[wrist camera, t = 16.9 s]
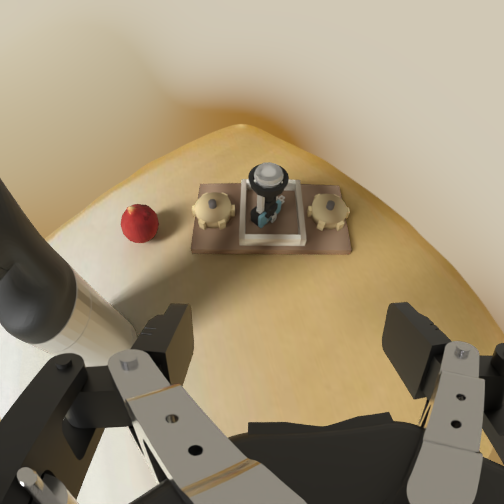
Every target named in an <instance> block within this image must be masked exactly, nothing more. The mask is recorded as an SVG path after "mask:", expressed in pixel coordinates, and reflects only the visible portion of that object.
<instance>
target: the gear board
mask: <svg viewBox="0 0 504 504" xmlns="http://www.w3.org/2000/svg"><path fill="white" fill-rule="evenodd" d="M254 182H255V180H254ZM282 183H283V181H282ZM282 183H281V184H282ZM281 195H282V196H284V197H285V199H283V198H282V197H281V198H280V199H283V200H284V201H285V202H284V203H283V204H281V210H280V212H279V213H278V214H277V218H276V220H275V221H274V222H273V223H271V221H272V219H271V220H270V221H269V222H268V223H266V224H265V225H264V226H263V227H262V228H260V227H258V226H257V225H256V224H255V223H253V222H252V221H251V210H252V209H253V208H254V207H256V206H257V194H256V193H255V192H254V190H253V189H252V188H251V185H250V183H249V179H242V181H241V183H231V184H200V188H199V194H198V200H197V202H196V204H195V205H193V206H192V213H193V217H195V222H194V229H193V237H192V244H191V251H192V253H208V254H350V252H351V251H352V250H351V244H350V238H349V233H348V227H347V222H346V218H348V216H349V213H350V210H349V207H347V206H346V204H345V202H344V201H343V200H342V197H341V192H340V187H339V186H334V185H309V184H300V180H288V184H287V186H286V187H285V189H284V191H283V192H282V194H280V195H278V198H279V197H280V196H281ZM281 202H282V201H281ZM274 219H275V218H274ZM274 219H273V220H274Z"/></svg>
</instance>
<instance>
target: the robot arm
mask: <svg viewBox="0 0 504 504" xmlns="http://www.w3.org/2000/svg"><path fill="white" fill-rule="evenodd" d="M0 323H1V325H2V326H3V327H4V328H5V330H6V331H7V332H8V333H10V334H11V335H13V336H14V337H16V338H18V339H20V340H22V341H24V342H26V343H28V344H30V345H32V346H34V347H36V348H38V349H41V350H43V351H45V352H47V353H50V354H52V355H54V357H53V358H51V359H50V360H49V361H48V362H47V363H46V364H45V365H44V366H43V368H42V369H41V370H40V371H39V373H38V374H37V375H36V376H35V377H34V379H33V380H32V381H31V382H30V384H29V385H28V386H27V387H26V389H25V390H24V391H23V392H22V394H21V395H20V396H19V398H18V399H17V400H16V401H15V403H14V404H13V405H12V407H11V408H10V409H9V411H8V412H7V413H6V415H5V416H4V417H3V419H2V420H1V422H0V504H79V503H78V502H77V501H76V499H77V497H78V494H79V491H80V489H81V486H82V483H83V481H84V478H85V476H86V473H87V471H88V468H89V466H90V463H91V461H92V458H93V456H94V453H95V451H96V448H97V446H98V443H99V441H100V439H101V436H102V434H103V432H104V429H105V428H109V427H126V426H127V428H128V430H129V432H130V434H131V436H132V438H133V440H134V442H135V444H136V445H137V447H138V449H139V451H140V453H141V455H142V456H143V458H144V460H145V462H146V464H147V465H148V467H149V469H150V471H151V473H152V475H153V477H154V479H155V481H156V483H157V486H155V487H154V488H152V489H151V490H149V491H148V492H146V493H145V494H143V495H142V496H140V497H138V498H137V499H135V500H134V501H132V502H131V503H129V504H504V466H502V465H500V464H498V463H495V462H493V461H491V460H489V459H487V458H484V457H483V455H482V453H481V452H480V451H479V448H480V440H481V432H482V429H483V430H484V432H485V434H486V435H487V437H488V438H489V440H490V442H491V443H492V445H493V447H494V448H495V450H496V452H497V453H498V455H499V457H500V458H501V460H502V462H503V464H504V343H501V344H498V345H497V346H496V348H495V351H494V353H493V356H479V351H478V350H477V349H476V348H475V347H474V346H473V345H471V344H469V343H466V342H461V341H453V342H452V341H451V340H450V339H449V338H448V337H447V336H446V335H445V334H444V333H443V332H442V331H441V330H439V328H438V327H437V326H436V325H434V323H433V322H432V321H431V320H430V319H429V318H428V317H426V316H424V315H422V314H420V313H418V312H417V311H416V310H415V309H414V308H413V307H412V306H411V305H410V304H409V303H408V302H402V303H391V304H390V305H389V307H388V310H387V315H386V321H385V326H384V331H383V336H382V347H383V350H384V352H385V354H386V355H387V357H388V358H389V360H390V362H391V363H392V365H393V366H394V368H395V369H396V371H397V373H398V374H399V376H400V378H401V379H402V381H403V382H404V384H405V386H406V387H407V389H408V391H409V392H410V394H411V396H412V397H413V399H419V398H424V397H427V400H426V402H425V405H424V407H423V410H422V413H421V416H420V419H419V422H418V425H414V424H411V423H406V422H398V421H393V419H392V417H391V415H390V413H389V412H386V413H380V414H373V415H366V416H358V417H355V418H352V419H348V420H345V421H342V422H339V423H335V424H332V425H329V426H323V427H322V426H311V425H303V424H295V423H288V422H248V433H242V434H238V435H234V436H231V437H228V438H227V437H226V436H225V435H224V434H223V433H222V431H221V430H220V429H219V428H218V427H217V426H216V425H215V424H214V423H213V422H212V421H211V419H210V418H209V417H208V416H207V415H206V414H205V413H204V412H203V410H202V409H201V408H200V407H199V406H198V405H197V403H196V402H195V401H194V400H193V399H192V398H191V396H190V395H189V394H188V393H187V392H186V390H185V389H184V388H183V387H182V386H183V383H184V380H185V377H186V374H187V370H188V367H189V364H190V361H191V358H192V355H193V350H194V337H193V326H192V314H191V307H190V304H170V306H169V307H168V309H167V311H166V312H165V314H164V315H157V316H155V317H154V318H152V319H151V320H149V321H148V323H147V324H146V326H145V328H144V329H143V330H142V332H141V334H140V335H139V336H138V338H137V334H136V332H135V329H134V327H133V326H132V325H131V323H130V322H129V321H128V320H127V319H125V318H124V317H123V316H122V315H121V314H120V313H119V312H118V311H117V310H116V309H115V308H113V307H112V306H111V305H110V304H109V303H108V302H107V301H106V300H105V299H104V298H103V297H102V296H100V295H99V294H98V293H97V292H96V291H95V290H94V289H93V288H92V287H91V286H90V285H89V284H88V283H87V282H86V281H85V280H84V279H83V278H82V277H81V276H80V275H79V274H78V273H77V272H76V271H75V270H74V269H73V268H72V267H71V266H70V265H69V264H68V263H67V262H66V261H65V260H64V259H63V258H62V257H61V256H60V255H59V254H58V253H57V252H56V251H55V250H54V249H53V248H52V247H51V246H50V245H49V244H48V243H47V242H46V241H45V239H44V238H43V237H42V236H41V235H40V234H39V233H38V231H37V230H36V229H35V227H34V226H33V225H32V223H31V222H30V221H29V219H28V218H27V216H26V215H25V214H24V212H23V211H22V210H21V208H20V207H19V205H18V204H17V202H16V201H15V199H14V198H13V196H12V195H11V193H10V192H9V191H8V189H7V188H6V186H5V185H4V183H3V182H2V180H1V179H0ZM64 417H65V418H64ZM63 419H64V420H63Z"/></svg>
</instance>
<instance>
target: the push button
mask: <svg viewBox="0 0 504 504" xmlns="http://www.w3.org/2000/svg"><path fill="white" fill-rule="evenodd" d="M254 180H255V182H254ZM288 180H289V177H288V173H287V172H286V170H285V169H283V168H282V167H281V166H279V165H276V164H274V163H270V162H269V163H263V164H260V165H257V166H255V167H254V168H253V169H252V170H251V171H250V173H249V183H250V185H251V188H252V189H253V190H254V192H255V193H256V194H257V206H256V207H254V208H253V209H252V210H251V221H252V222H253V223H255V224H256V225H257V226H258V227H260V228H262V227H263V226H264V225H265V224H266V223H268V222H269V221H270V220H271V219H272V221H271V223H273V222H274V221H275V220H276V218H277V214H278V213H279V212H280V210H281V204H283V203H284V202H285V201H284V200H283V199H285V197H284V196H282V195H281V196H280V197H279V198H278V195H280V194H282V192H283V191H284V189H285V187H286V186H287V184H288ZM282 181H283V183H282ZM281 183H282V184H281ZM281 197H282V198H283V199H280V198H281ZM281 201H282V202H281ZM274 218H275V219H274ZM273 219H274V220H273Z"/></svg>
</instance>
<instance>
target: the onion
mask: <svg viewBox="0 0 504 504" xmlns="http://www.w3.org/2000/svg"><path fill="white" fill-rule="evenodd" d="M158 225H159V223H158V218H157V214H156V213H155V212H154V211H153V210H152V209H151V208H150V207H149V206H147V205H141V204H135V205H132V206H129V207H127V209H126V210H125V212H124V214H123V215H122V219H121V227H122V231H123V234H124V235H125V236H126V237H127V238H128V239H129V240H130V241H133V242H135V243H144V242H147V241H149V240H151V239H152V238H153V237H154V236H155V234H156V233H157V230H158Z"/></svg>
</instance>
